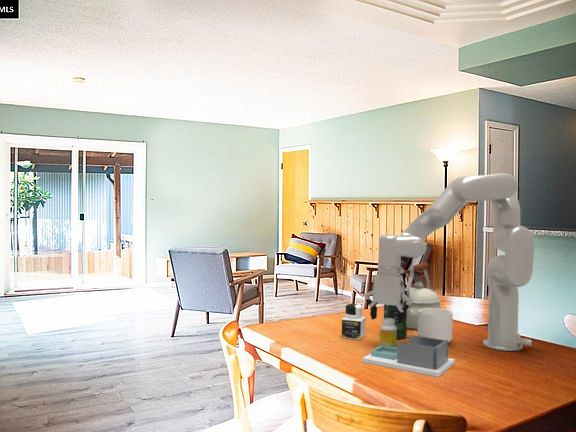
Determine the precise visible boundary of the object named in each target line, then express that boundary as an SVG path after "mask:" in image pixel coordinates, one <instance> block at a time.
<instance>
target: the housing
mask: <svg viewBox="0 0 576 432" xmlns="http://www.w3.org/2000/svg"><path fill="white" fill-rule="evenodd" d="M396 348H397V362H400V363H405V364H410V365H416V366H421V367H426V368H432V369H437V368H439V367H440V366H441V365H442V364H443V363H445V362H446V361H447V360H448V358H449V343H448V340H441V339H435V338H428V337H422V336H418V335H415V334H409V342H404V341H396Z"/></svg>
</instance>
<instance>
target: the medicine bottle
mask: <svg viewBox="0 0 576 432" xmlns="http://www.w3.org/2000/svg"><path fill="white" fill-rule="evenodd" d="M365 336H366V316H363V305H361V304H359V303H348V304H346V305H345V316H344V317H343V318H342V319H341V339H349V340H356V341H361V340H362V339H363V338H364V337H365Z"/></svg>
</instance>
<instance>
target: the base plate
mask: <svg viewBox="0 0 576 432" xmlns="http://www.w3.org/2000/svg"><path fill="white" fill-rule="evenodd" d="M361 362H362V363H365V364H370V365H375V366H382V367H385V368H389V369H390V368H391V369H394V370H395V369H396V370H401V371H406V372H411V373H416V374H420V375H426V376H432V377H437V378H439V377H441V376H442V375H443V374H444V373H445V372H447V371H448V370H449V369H450V368H451V367H452V366H453V365H454V364H456V359H455V358H451V357H448V360H447V361H446V362H445V363H443V364H442V365H441V366H440V367H439V368H437V369H432V368H426V367H421V366H416V365H410V364H405V363H400V362H397V347H396V348H393V347H387V346H380V345H379V346H377V347H376V348H374V349H371V351H370V353H368V354H367V355H365V356H363V357H362V358H361Z"/></svg>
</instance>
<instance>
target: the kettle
mask: <svg viewBox="0 0 576 432" xmlns="http://www.w3.org/2000/svg"><path fill="white" fill-rule="evenodd" d="M408 268H409V277H408V280H407V285H406V288H404V290H406V291H407V296H408V297H409V298H411V299H412V300H413V302H412V304H411V305H410V307H409V308H408V309H407V329H411V330H418V310H419V309H423V308H438V309H442V307H441V302H442V300H441V299H440V296H439V295H438V294H437V293H436V291H433V290H432V289H431V281H430V277H429V272H428V268H429V264H428V262H423V263H417V264H415V265H411V266H409V267H408ZM420 271H423V273H424V277H425V280H426V287H424V284H423V283H422V282H421V281H417V282H415V283H414V284H413V286H414V287H411V285H412V282H413V279H414V274H415V272H420Z"/></svg>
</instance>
